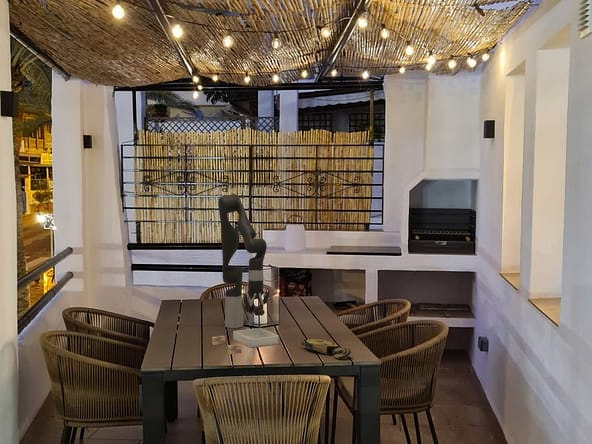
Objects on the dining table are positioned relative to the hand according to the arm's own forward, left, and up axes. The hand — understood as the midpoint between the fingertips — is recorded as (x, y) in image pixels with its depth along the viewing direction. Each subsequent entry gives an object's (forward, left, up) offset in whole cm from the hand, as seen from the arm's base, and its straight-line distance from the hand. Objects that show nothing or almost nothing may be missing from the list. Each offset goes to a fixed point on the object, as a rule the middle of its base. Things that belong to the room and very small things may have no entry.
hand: (255, 312), depth 301 cm
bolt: (0, 0, -1) cm, 1 cm away
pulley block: (-20, +35, -15) cm, 43 cm away
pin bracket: (+18, +5, -14) cm, 24 cm away
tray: (0, 0, -14) cm, 14 cm away
